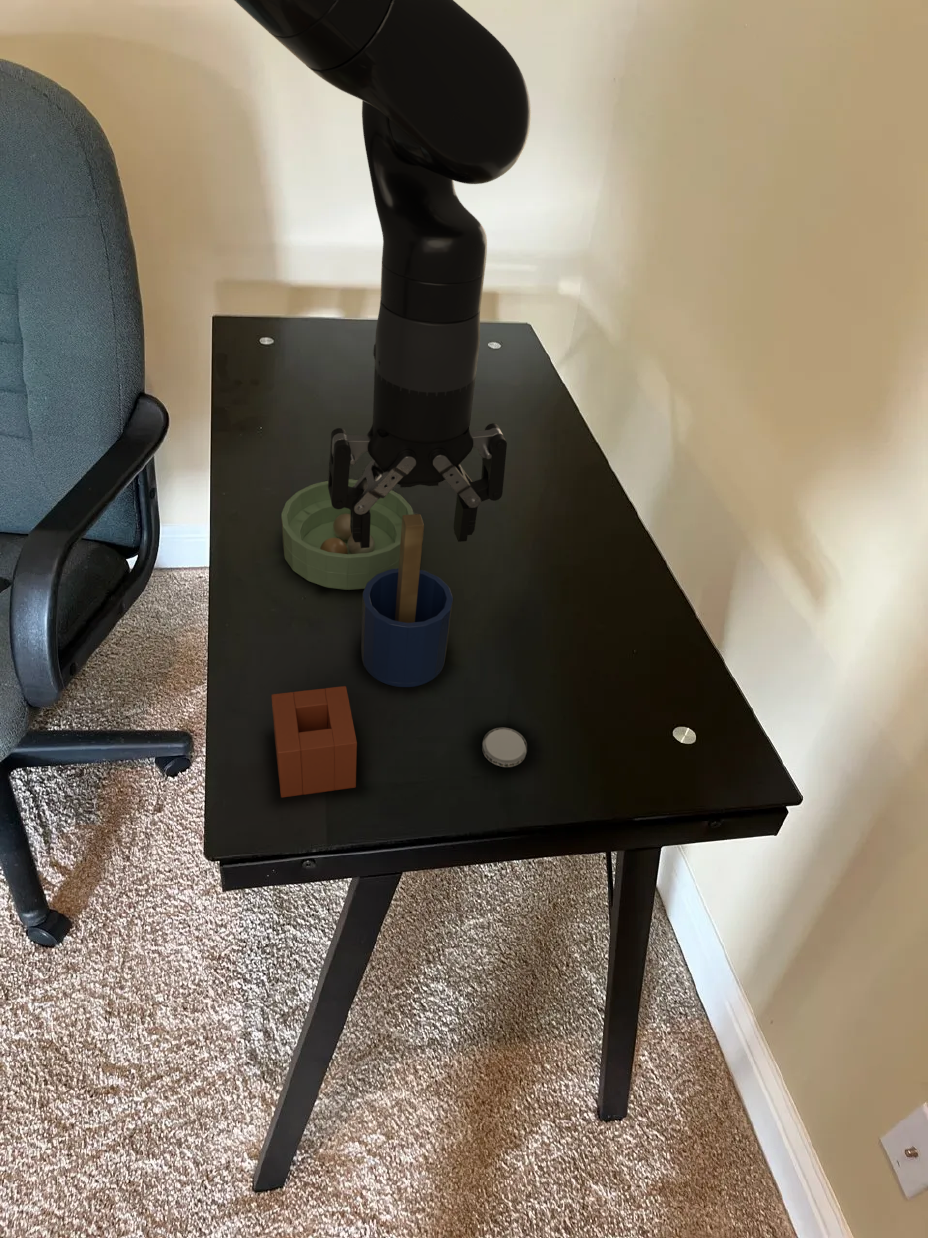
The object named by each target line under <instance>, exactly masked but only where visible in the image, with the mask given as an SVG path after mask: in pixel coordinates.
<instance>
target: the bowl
mask: <svg viewBox="0 0 928 1238" xmlns="http://www.w3.org/2000/svg"><path fill="white" fill-rule="evenodd" d="M358 480H359V479H351V478H349V482H348V486H350V487H353V486H354V485H355V484H356V482H357V481H358ZM369 510H370V514H371V518H370V535H371V536H372V537H373V539H374V541H375V548H374V551H373V552H369V553H360V554H351V553H350V552H349V550H348V554H341V553H334V552H327V551H324V550H321V549H320V547H321V545H322V543H323V542H324V541H325V540H327V539H329V538H338V539H340V538H339V537H337V536H336V534H335V533H334V530H333V523H334V521H335V519H336V518H337V517H338V516H339V515H341V514H345V513H348V514H350V509H348V508H343V509H335V508H334V507H333V506H332V503H331V499H330V494H329V490H328V480H325V481H321V482H320V481H319V482H316V483H313V484H310V485H308V486H306V487H303V488H302V489H300V490H297V491H296V492H295V493H293V495H292V496H291V497H290V498H289V499H288V500H287V501H286V502H285V504H284V506H283V508H282V511H281V514H280V516H281V519H280V520H281V533H282V548H283V556H284V559H285V561H286V562H287V564H288V565H289V567H290V568H291V570H292V571H293V572H294V573H296V574H297V575H298V576H300V577H301V578H304V580H305V581H308V582H311V583H313V584H317V585H319V586H321V587H324V588H328V589H337V590H343V591H344V590H345V591H347V590H348V591H350V590H351V591H352V590H364V589H365V587H366V584H367V583H368V582H369V581H370V580H371V579H372V578H373V577H375V576H376V575H377V574H379V573H382V572H385V571H387V570H390V569H397V568H399V556H400V542H401V528H402V516H403V515H412V514H415V513H414V510H413V507H412V506H411V504H410V503H409V502H408V501H407V500H406V499H405V498H404V497H403V496H402V495H401V494H399V493H397V492H396V491H394V490H393V489H392V490H391V491H390V492H389V493H388V494H387V495H386V496H385V497H384V498H380V499H378V501H377V502H376V503H375V504H374V505H373V506H372V507H371V508H370V509H369ZM341 540H342V539H341ZM342 541H343V542H344V543H345V544H346V546H347V543H348V540H342ZM347 549H348V546H347Z"/></svg>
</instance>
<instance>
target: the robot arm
mask: <svg viewBox="0 0 928 1238" xmlns="http://www.w3.org/2000/svg"><path fill="white" fill-rule="evenodd" d="M233 1H234V2H235V3H236V4H237V5H238V6H240V8H242V10H244V11H245V12H246V13H247V14H248V15H249V16H250V17H251V18H252V19H253V20H254V21H255V22H257V23H258V24H259V25H260V26H261V27H262V28H264V30H266V31H267V32H268V34H270V35H271V36H272V37H273V38H274V39H276V41H278V42H279V43H280V44H281V45H282V46H283V47H285V49H287V50H288V51H289V52H290V53H291V54H292V55H293V56H295V57H296V59H298V60H299V61H300V62H302V64H304V65H305V67H307V68H308V69H309V70H310V71H312V72H313V73H314V74H315V75H317V76H318V77H319V78H321V79H322V80H323V81H325V82H327V83H328V84H330V85H331V86H333V87H334V88H337V90H339V91H341V92H343V93H346V94H348V95H350V96H351V97H354V98H356V99H359V100H361V101H362V102H361V121H362V122H361V123H362V133H363V135H362V136H363V142H364V149H365V154H366V159H367V165H368V170H369V175H370V176H369V177H370V181H371V187H372V193H373V199H374V204H375V209H376V213H377V217H378V220H379V225H380V229H381V235H382V254H381V274H380V302H379V308H378V309H379V310H378V316H377V322H376V328H375V342H374V344H373V352H372V353H373V359H374V371H373V372H374V373H373V375H374V376H373V403H372V404H373V405H372V407H373V408H372V409H373V410H372V424H371V427H370V429H369V431H368V432H367V434H348V433H347V431H346V430H345V429H344V428H342V427H337V428H335V429H333V430H332V431H331V432H330V433H331V434H330V447H329V464H328V477H327V479H328V480H327V481H328V490H329V494H330V499H331V503H332V506H333V507H334V508H335V509H343V508H348V509H350V529H351V533H352V537H353V540H354V542H359V543H360V547H361V548H369V547H370V518H371V514H370V510H369V509H370V508H371V507H372V506H373V505H374V504H375V503H376V502H377V501H378V499H380V498H384V497H385V496H386V495H387V494H388V493H389V492H390V491H391V490H392V491H393V490H394V488H395V486H397V485H399V486H400V489H402V488H413V487H415V486H425V487H439V484H440V483H441V482H444V481H446V482H447V484H448V485H449V486H450V488H451V489H453V491H454V492H455V494H456V500H455V508H454V519H453V532H454V536H455V538H456V540H457V542H458V543H460V542H462V543H463V542H467V541H468V536H472V535H473V533H474V532H475V531H476V530H475V529H476V521H477V515H478V507H479V506H480V505H481V504H482V503H483V502H484V501H488V500H490V501H493V502H496V501H499V500H500V499H501V498H502V496H503V494H504V493H503V491H504V483H505V482H504V481H505V469H506V460H507V459H506V458H507V448H508V442H507V441H506V438H505V436H504V434H503V432H502V430H501V429H500V426H499V425H498V424H497V423H493V422H491V423H489V424H487V425H486V426H485V428H484V429H483V430H474V431H473V430H472V431H470V427H471V419H472V411H473V404H474V403H473V402H474V395H475V394H474V393H475V386H476V378H477V370H478V363H479V362H478V361H479V353H480V344H481V305H482V297H483V290H484V282H485V280H484V279H485V272H486V265H487V264H486V263H487V255H488V238H487V237H488V236H487V233H486V230H485V228H484V226H483V225H482V223H481V222H480V221H479V220H478V218H477V217H476V216H475V215H473V214H472V213H471V212H470V211H469V209H467V208H466V206H464V204H463V203H462V202H461V200H460V198H459V196H458V195H457V192H456V188H455V183H454V182H457V183H461V184H466V185H482V184H488V183H489V182H493V181H495V180H498V178H500V177H502V176H504V175H505V174H506V173H508V172H509V170H511V169H512V168H513V166H515V164H516V163H517V161H518V160H519V159H520V157H521V155H522V154H523V152H524V150H525V147H526V144H527V141H528V138H529V134H530V130H531V123H532V122H531V121H532V110H531V107H532V106H531V100H530V95H529V90H528V86H527V83H526V81H525V78H524V75H523V73H522V71H521V69H520V67H519V65H518V63H517V62H516V61H515V58H513V56H512V54H511V53H510V52H509V50H508V49H507V48H506V47H505V46H504V45H503V44H502V42H500V40H499V39H498V38H497V37H496V36H494V34H493V33H492V32H491V31H489V29H488V28H486V27H485V26H484V25H482V24H481V23H480V22H479V21H478V20H477V19H476V18H474V17H473V16H472V15H471V14H470V13H469V12H467V10H465V8H463V7H462V6H461V5H460V4H458V2H456V1H455V0H233ZM473 448H476V449H477V451H478V454H479V456H480V457H481V458H482V465H481V478H479V479H476V480H472V478H470V476H469V474H467V472H466V471H465V469H464V467H462V465H461V463H462V462H463V461H464V460H465V459H466V458H467V457H468V455H470V453H471V452H472V450H473ZM367 452H368V454H369V456H370V457H371V459H372V460H370V462H369V463H368V464H367V465H366V467H365V468H364V471H363V474H362V475H361V477H359V479H357V480H358V481H357V482H356V484H355V485H354V486H353V487H350V486H348V482H349V479H350V469H351V466H355V465H356V463H358V461H359V459H360V456H361V455H362V454H363V453H367Z"/></svg>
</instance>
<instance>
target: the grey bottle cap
mask: <svg viewBox="0 0 928 1238" xmlns="http://www.w3.org/2000/svg"><path fill="white" fill-rule="evenodd" d="M481 745H482V746H481V750H482V753H483V755H484V758H486V759H487V760H488V762H489V763H492V764H493V765H495V766H499V767H502V768H513V767H516V766H518V765H520V764H521V763H522V762H523V761H524V760H525V758H526V755H527V752H528V743H527V741H526V738H525V737H524V736H523V735H522V734H521V733H520V732H519V731H517V730H515V729H513V728H509V727H496V728H493V729H491V730H489V731H488V732H487V733H486V734H485V735H484V737H483V740H482V743H481Z"/></svg>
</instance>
